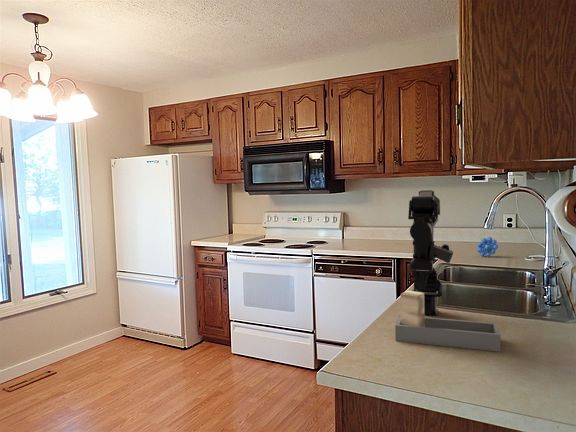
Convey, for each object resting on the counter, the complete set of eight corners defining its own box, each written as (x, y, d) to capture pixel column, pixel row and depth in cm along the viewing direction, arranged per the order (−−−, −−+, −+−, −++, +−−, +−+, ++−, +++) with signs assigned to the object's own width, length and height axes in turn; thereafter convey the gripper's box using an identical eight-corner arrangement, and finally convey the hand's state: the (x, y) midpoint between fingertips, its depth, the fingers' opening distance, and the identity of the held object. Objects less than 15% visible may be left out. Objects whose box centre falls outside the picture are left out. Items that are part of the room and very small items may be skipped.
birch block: (408, 326, 125) (408, 290, 125) (424, 329, 122) (424, 292, 121) (401, 330, 122) (400, 294, 121) (417, 334, 118) (417, 296, 118)
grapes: (499, 256, 247) (499, 236, 246) (497, 258, 241) (497, 237, 241) (477, 255, 253) (477, 235, 253) (476, 257, 248) (476, 237, 247)
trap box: (399, 329, 129) (399, 315, 128) (496, 338, 119) (496, 323, 118) (395, 340, 120) (395, 325, 119) (500, 351, 109) (500, 335, 109)
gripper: (451, 241, 114) (451, 297, 115) (451, 234, 132) (452, 282, 133) (409, 241, 119) (410, 294, 120) (415, 233, 136) (415, 280, 137)
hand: (423, 287), depth 127 cm, fingers open, 9 cm apart
